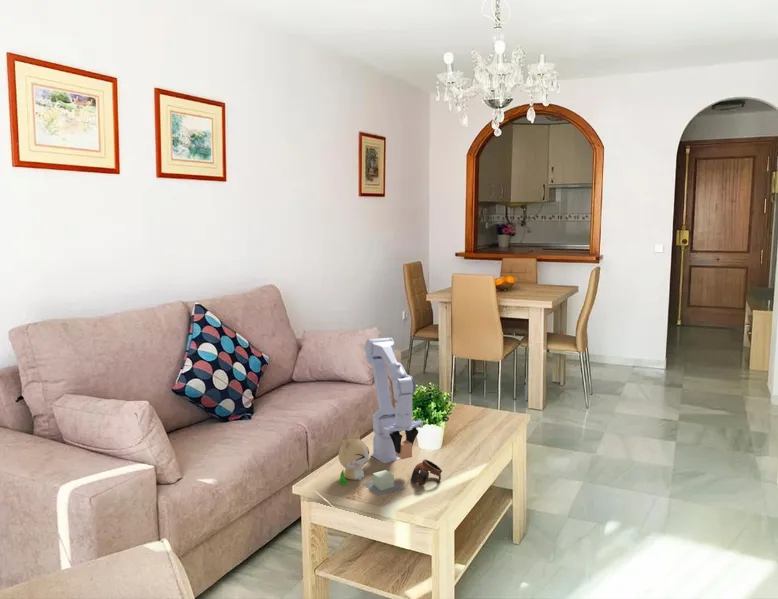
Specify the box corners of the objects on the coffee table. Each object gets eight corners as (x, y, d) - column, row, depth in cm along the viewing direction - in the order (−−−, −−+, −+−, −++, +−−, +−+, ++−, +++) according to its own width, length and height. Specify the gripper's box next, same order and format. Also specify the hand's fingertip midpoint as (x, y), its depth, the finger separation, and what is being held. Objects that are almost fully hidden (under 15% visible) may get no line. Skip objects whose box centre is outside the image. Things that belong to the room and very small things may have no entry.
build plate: (362, 485, 213) (362, 483, 213) (388, 478, 218) (388, 477, 218) (378, 496, 204) (378, 495, 204) (404, 489, 210) (404, 488, 210)
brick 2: (395, 455, 221) (395, 441, 220) (405, 453, 223) (405, 439, 222) (402, 459, 217) (402, 445, 217) (411, 457, 219) (412, 443, 219)
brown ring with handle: (411, 476, 221) (423, 455, 221) (434, 491, 219) (447, 470, 219) (404, 482, 209) (416, 460, 209) (429, 498, 207) (442, 476, 207)
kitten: (355, 490, 209) (354, 445, 207) (328, 484, 214) (328, 440, 211) (376, 473, 222) (376, 431, 220) (351, 467, 227) (351, 426, 225)
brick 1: (372, 484, 212) (372, 473, 211) (386, 481, 215) (386, 469, 214) (380, 490, 208) (380, 478, 207) (394, 487, 210) (394, 475, 210)
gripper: (391, 419, 211) (391, 459, 213) (428, 412, 218) (427, 450, 220) (380, 413, 217) (380, 452, 219) (416, 406, 224) (416, 443, 226)
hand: (403, 450), depth 220 cm, fingers closed on brick 2, 4 cm apart
